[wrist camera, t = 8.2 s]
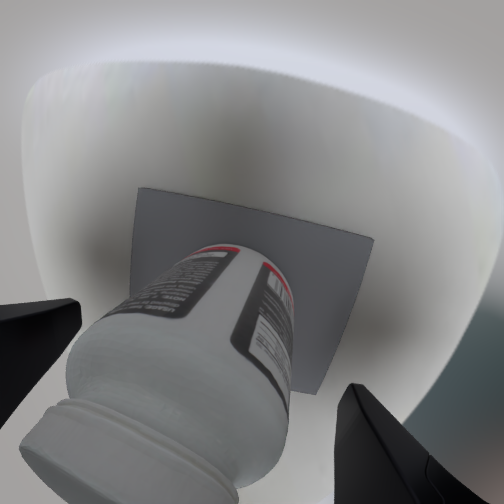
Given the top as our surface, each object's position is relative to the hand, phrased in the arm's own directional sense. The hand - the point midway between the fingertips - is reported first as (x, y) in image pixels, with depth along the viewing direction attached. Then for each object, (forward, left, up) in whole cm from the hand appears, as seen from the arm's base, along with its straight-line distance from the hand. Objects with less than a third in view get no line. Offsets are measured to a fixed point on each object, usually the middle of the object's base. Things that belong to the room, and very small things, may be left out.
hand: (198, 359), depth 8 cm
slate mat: (0, 0, -5) cm, 5 cm away
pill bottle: (0, 0, -4) cm, 5 cm away
